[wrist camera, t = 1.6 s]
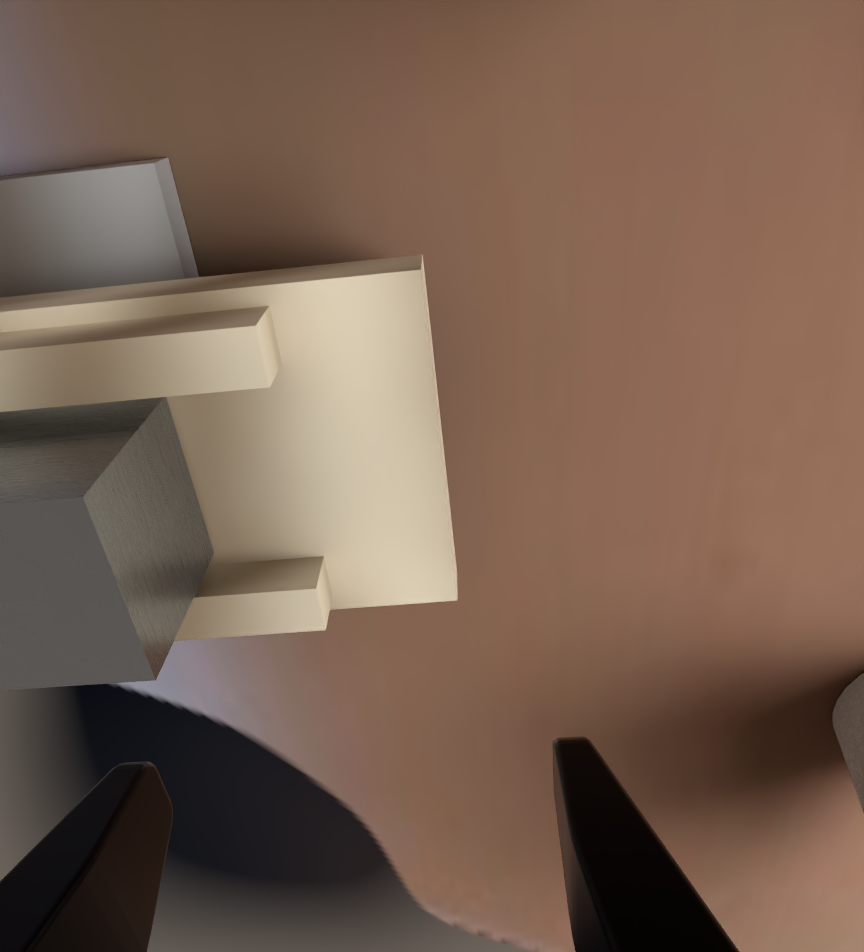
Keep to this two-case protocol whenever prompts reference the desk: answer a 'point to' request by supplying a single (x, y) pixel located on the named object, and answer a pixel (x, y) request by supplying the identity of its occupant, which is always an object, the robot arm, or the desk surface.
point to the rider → (94, 543)
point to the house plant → (852, 731)
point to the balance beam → (241, 393)
